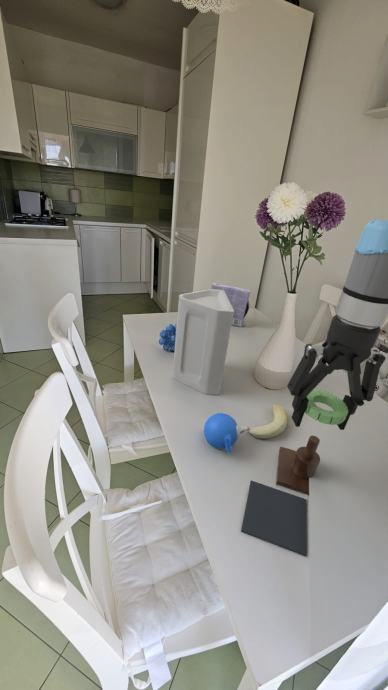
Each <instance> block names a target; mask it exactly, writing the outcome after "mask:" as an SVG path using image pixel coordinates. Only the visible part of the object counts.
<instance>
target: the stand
mask: <svg viewBox="0 0 388 690" xmlns="http://www.w3.org/2000/svg"><path fill="white" fill-rule="evenodd" d="M320 443H321V440H320V438H319V437H318V436H316V435H310V436H309V438H308V440H307V442H306V445H305V446H300V447H298V448H297V449H296V450H293V449H291V448H287V447H284V446H280V447H279V452H278V459H277V460H278V462H277V469H276V470H277V471H276V480H275V485H277V486H280V487H283V488H286V489H289V490H292V491H294V492H298V493H300V494H304V495H307V496H310V478H312V477H314V476H315V474H316V472H317V470H318V467H319V465H320V462H321V455H319V453H318V452H317V450H318V447H319V445H320Z"/></svg>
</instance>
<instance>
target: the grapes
mask: <svg viewBox="0 0 388 690" xmlns="http://www.w3.org/2000/svg"><path fill="white" fill-rule="evenodd" d="M176 328H177V322H176V323H175V324H172V323H168V324H167V325H166V327H165V329H162V330H161V331H160V332H159V336H160V338H159V339H158V344H159V345H161V346H162V349H163V350H164V351H168V350H170V351H171V352H175V340H176Z"/></svg>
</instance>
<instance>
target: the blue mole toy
mask: <svg viewBox="0 0 388 690" xmlns="http://www.w3.org/2000/svg"><path fill="white" fill-rule="evenodd" d="M250 429H251V427H250V426H241V425H238V423H237V422H236V418H234V417H233V416H231V414H228V413H225V412H216V413H213V414H212V415H210V416H209V417H208V418H207V420H206V421H205V423H204V426H203V434H204V438H205V441H206V442H207V444H209V446H210V447H212V448H213V449H216V450H226V453H227V454H231V452H232V446H233V445H235V444H236V442H237V440H238V438H239V437H240V436H242V435H243V434H244V433H245V432H247V431H249V430H250Z"/></svg>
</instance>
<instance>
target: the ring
mask: <svg viewBox="0 0 388 690" xmlns="http://www.w3.org/2000/svg"><path fill="white" fill-rule="evenodd" d="M307 398H308V400H309V401H308V404H307V407H306V410H305V413H304V414H306V415H307V416H308V417H310V418H311V419H312V420H314V421H317V422H318V423H322V424H325V425H328V426H329V425H331V426H332V425H337V424H341V423H342V422H343V421H344V420H345V419H346V416H347V414H348V407H347V406H346V404H345V403H344V402H343V399H341V398H340V397H339V396H337V395H335V394H333V393H330V392H328V391H325V390H319V389H313V390H312V391H311V392H310V394H309V395H308V396H307ZM316 403H319V404H320V403H321V404H324V405H326V406H328V407H330V408H331V409H332V410H327V409H324V408H321V407H320V406H319V405H317V404H316Z"/></svg>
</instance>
